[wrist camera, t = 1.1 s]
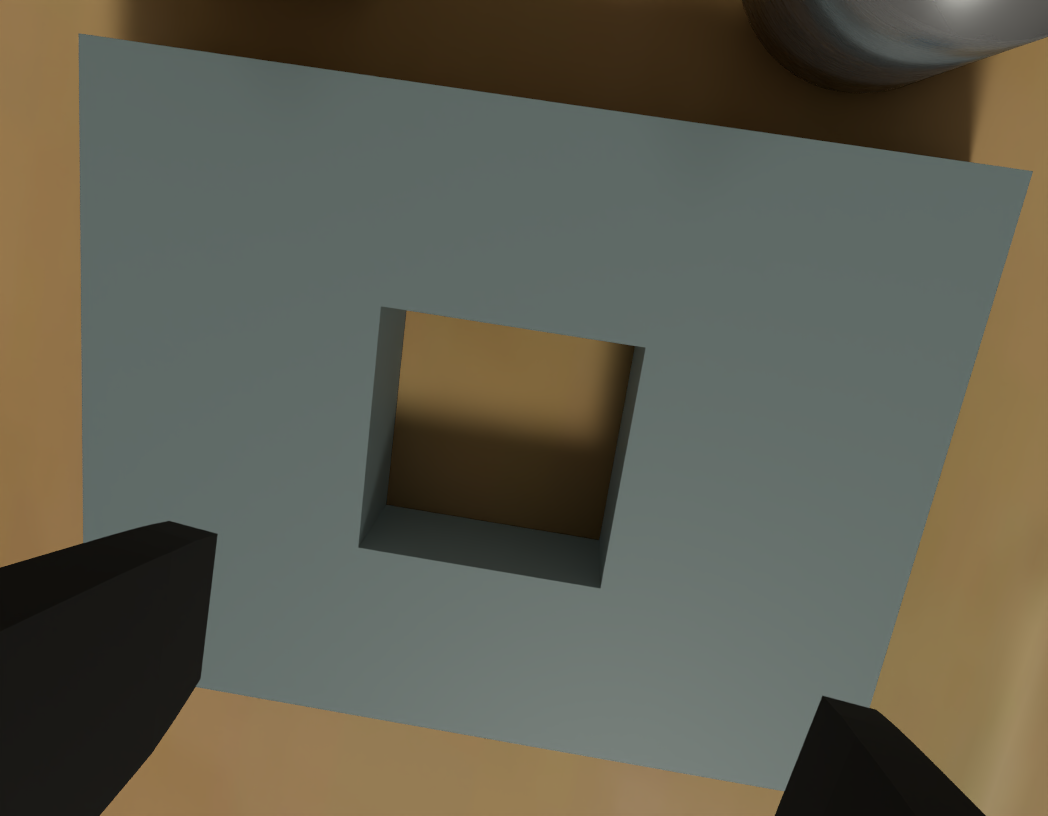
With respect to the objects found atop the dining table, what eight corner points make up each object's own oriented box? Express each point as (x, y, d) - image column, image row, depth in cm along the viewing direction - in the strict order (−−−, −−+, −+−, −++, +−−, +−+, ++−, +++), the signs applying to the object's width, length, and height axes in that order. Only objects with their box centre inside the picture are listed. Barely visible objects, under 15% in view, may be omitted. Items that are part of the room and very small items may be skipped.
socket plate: (141, 613, 21) (84, 667, 19) (148, 55, 18) (78, 33, 15) (811, 730, 21) (840, 801, 18) (969, 174, 17) (1032, 171, 14)
